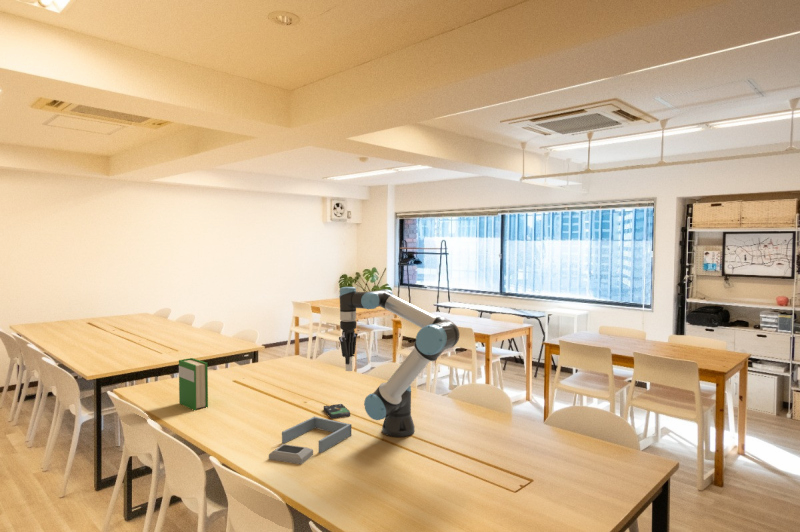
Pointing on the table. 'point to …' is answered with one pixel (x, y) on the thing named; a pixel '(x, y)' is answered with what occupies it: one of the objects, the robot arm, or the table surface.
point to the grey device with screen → (291, 454)
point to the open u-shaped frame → (338, 428)
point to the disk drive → (337, 411)
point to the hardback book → (193, 383)
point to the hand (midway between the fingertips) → (348, 370)
